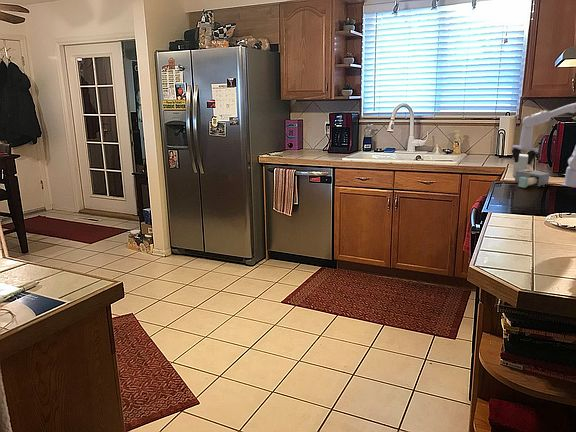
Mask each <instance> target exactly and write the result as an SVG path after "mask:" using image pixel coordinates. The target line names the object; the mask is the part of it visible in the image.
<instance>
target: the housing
mask: <svg viewBox="0 0 576 432" xmlns="http://www.w3.org/2000/svg"><path fill="white" fill-rule="evenodd" d="M524 170H528V169H523V170H518V171H516V175H515V177H514V182H516V183H519V178H520V177H526V178H532V177H537V178H538V184H533V185H532V186H536V187H542V186H545V184H546V185H548V184H549V181H550V172H543V171H539V170H538V171H537V170H532V169H530V170H531V172H525V171H524ZM541 185H542V186H541Z"/></svg>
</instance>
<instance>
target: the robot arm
mask: <svg viewBox="0 0 576 432" xmlns="http://www.w3.org/2000/svg"><path fill="white" fill-rule="evenodd" d="M567 113H571V114H575V113H576V102H574V103H570V104H566V105H563V106H561V107H557V108H556V109H553V110H549V111H548V110H543V109H542V110H540V112H537V113H534V114H533V113H532V114H530V115H528V116H525V117H524V118H523V119H522V120H521V121H522V122H521V123H522V126H521V131H520V138H519V145H518V144H512V145H511V152H512V156H513V158H514V160H515V162H518V160H519V154H521V152H522V151H526V152H527V155H528V163H527V164H528V165H530V166H531V165H532V162H533V160H534V158H535V157H536V155H537V154H538V152H539V149H540V148H538V147H534V146H532V140H533V132H534V126H535V125H536V126H537V125H540V124H543V123H547V122H550V120H551V118H554V117H556V116H561V115H563V114H567ZM567 164H568V166H567V167H566V170H565V176H564V182H563V183H561V184H560V186H564V187H565V186H566V187H570V188H576V146H575V148H574V150H573V152H572V154H571V156H570V157H569V158H568V159H567Z"/></svg>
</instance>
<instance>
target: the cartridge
mask: <svg viewBox="0 0 576 432" xmlns="http://www.w3.org/2000/svg"><path fill="white" fill-rule="evenodd" d="M537 183H538V178H537V177H532V178H526V177H520V178H519V182H518V185H517V187H520V188H522V189H523V188H525V189H526V188H528V186H534V185H533V184H537Z"/></svg>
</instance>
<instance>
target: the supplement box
mask: <svg viewBox="0 0 576 432" xmlns="http://www.w3.org/2000/svg"><path fill="white" fill-rule="evenodd" d="M527 163H528V154H525V153H520V154H519V160H518V162H515V160H514V162H513V169H512V177H514V178H515V175H516V171H518V170H523V169H528V170H531V164H530V165H528V164H527Z"/></svg>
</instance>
